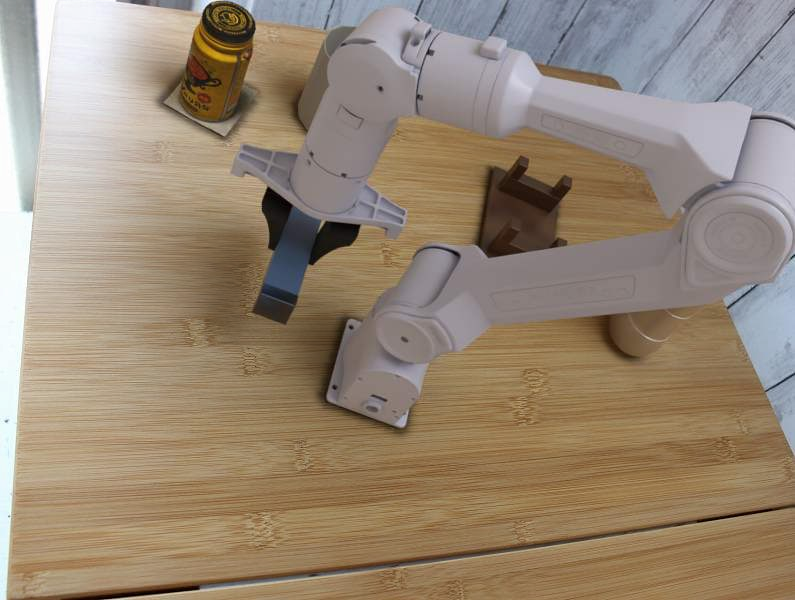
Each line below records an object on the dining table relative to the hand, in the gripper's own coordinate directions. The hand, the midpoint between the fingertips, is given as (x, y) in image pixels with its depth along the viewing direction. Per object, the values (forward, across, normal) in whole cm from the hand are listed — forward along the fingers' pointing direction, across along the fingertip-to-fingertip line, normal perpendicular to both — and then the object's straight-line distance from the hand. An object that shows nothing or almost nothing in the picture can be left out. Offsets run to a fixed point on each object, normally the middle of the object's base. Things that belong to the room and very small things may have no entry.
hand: (293, 249), depth 74 cm
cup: (+8, 0, -27) cm, 28 cm away
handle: (+1, 0, 0) cm, 1 cm away
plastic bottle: (+9, -40, -12) cm, 43 cm away
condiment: (+8, +13, -22) cm, 27 cm away
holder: (+8, -25, -22) cm, 34 cm away
